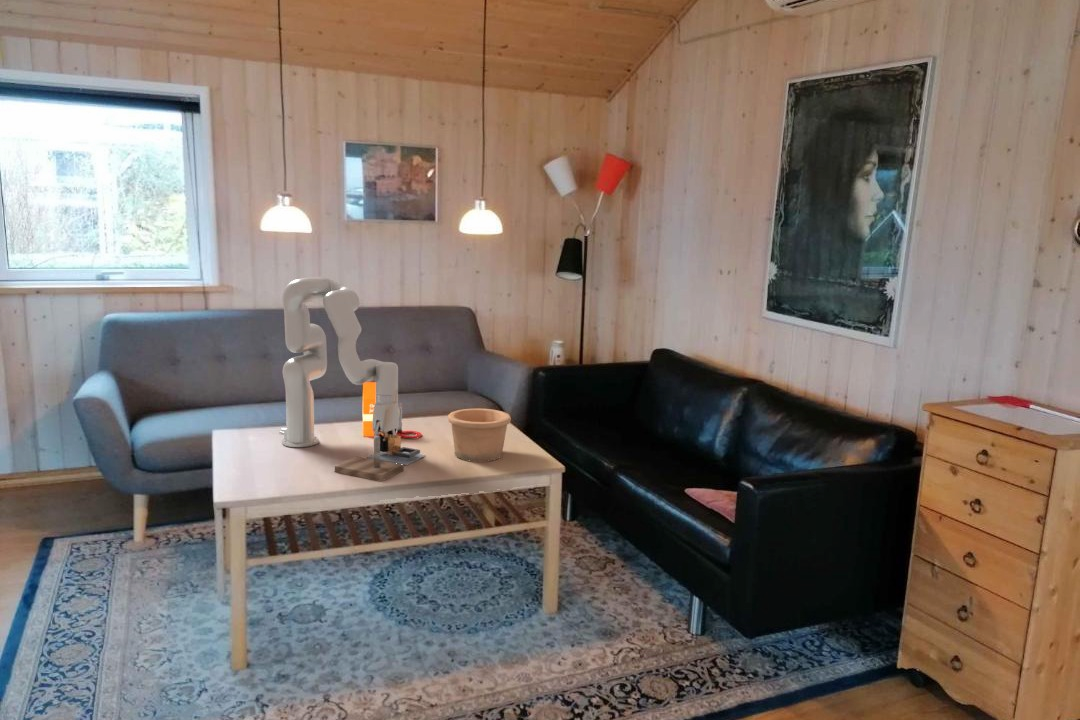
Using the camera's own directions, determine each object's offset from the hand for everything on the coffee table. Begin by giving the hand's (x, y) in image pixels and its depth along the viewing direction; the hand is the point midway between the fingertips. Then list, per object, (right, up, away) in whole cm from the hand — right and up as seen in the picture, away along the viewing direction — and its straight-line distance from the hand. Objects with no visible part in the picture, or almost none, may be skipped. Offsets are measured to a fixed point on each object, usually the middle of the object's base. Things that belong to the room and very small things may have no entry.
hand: (386, 449), depth 261 cm
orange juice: (-10, +3, +27) cm, 29 cm away
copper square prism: (+4, -1, -2) cm, 5 cm away
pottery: (+32, -3, +5) cm, 32 cm away
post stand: (-2, -5, -17) cm, 18 cm away
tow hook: (+4, +2, +26) cm, 26 cm away
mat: (+4, -3, -1) cm, 5 cm away
